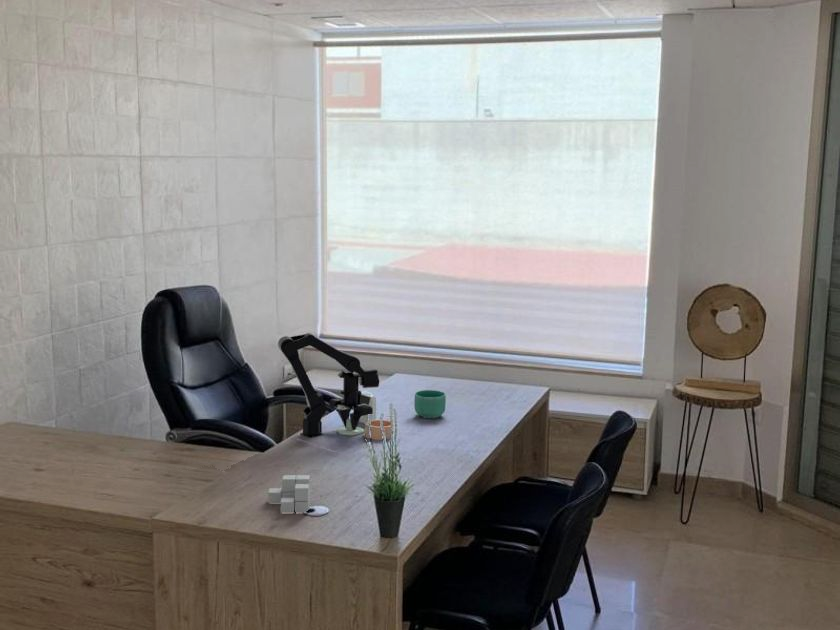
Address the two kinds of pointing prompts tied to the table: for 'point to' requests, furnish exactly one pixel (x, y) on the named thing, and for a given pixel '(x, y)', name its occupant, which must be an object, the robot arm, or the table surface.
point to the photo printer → (372, 403)
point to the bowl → (378, 429)
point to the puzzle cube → (292, 493)
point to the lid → (350, 429)
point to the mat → (346, 435)
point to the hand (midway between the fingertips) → (350, 428)
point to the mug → (430, 403)
